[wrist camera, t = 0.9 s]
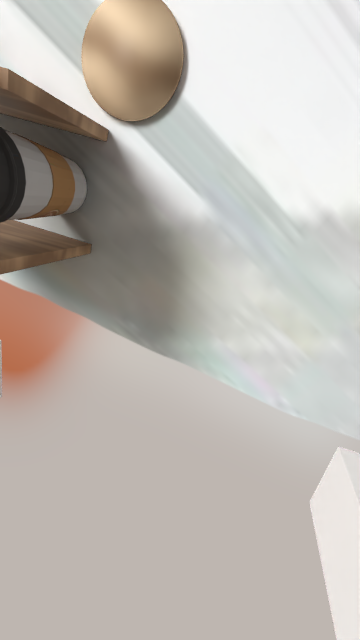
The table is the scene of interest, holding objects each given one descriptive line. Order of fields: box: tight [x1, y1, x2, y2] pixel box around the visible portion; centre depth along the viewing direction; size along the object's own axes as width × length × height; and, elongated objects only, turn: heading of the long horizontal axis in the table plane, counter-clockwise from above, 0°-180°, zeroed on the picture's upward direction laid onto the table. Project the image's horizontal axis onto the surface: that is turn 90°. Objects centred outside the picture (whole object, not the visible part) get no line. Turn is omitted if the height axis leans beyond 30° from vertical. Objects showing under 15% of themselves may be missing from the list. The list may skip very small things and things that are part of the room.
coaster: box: [82, 0, 184, 121], centre depth 32 cm, size 11×11×1 cm
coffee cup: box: [0, 127, 87, 223], centre depth 31 cm, size 8×8×15 cm
